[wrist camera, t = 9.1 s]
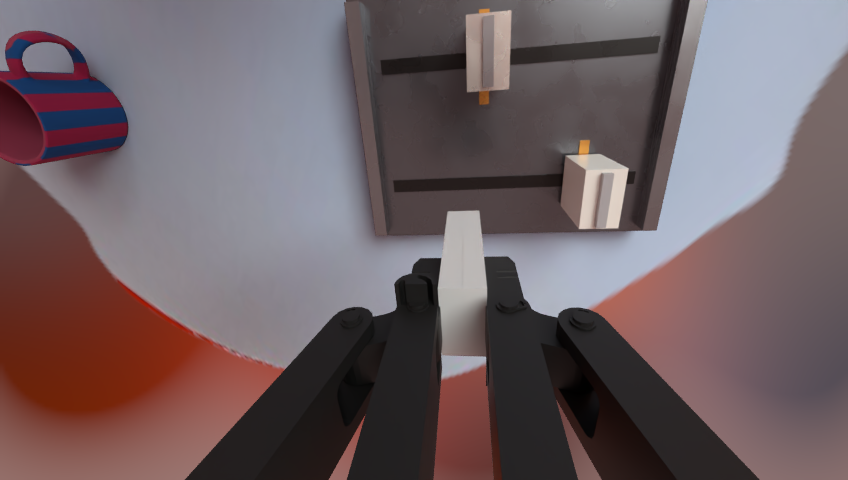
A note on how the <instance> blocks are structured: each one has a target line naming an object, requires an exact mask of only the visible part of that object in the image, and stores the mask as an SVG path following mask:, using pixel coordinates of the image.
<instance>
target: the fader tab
mask: <svg viewBox="0 0 848 480" xmlns="http://www.w3.org/2000/svg"><path fill="white" fill-rule="evenodd" d="M628 170H629V168H627V167H625V166H623V165H621V164H619V163H617V162H615V161H613V160H611V159H609V158H607V157H605V156H603V155H601V154H586V155H565V164H564V175H563V185H562V195H561V205H560V206H561V207H562V208H563V209H564V211H565V212H566V213H567V214H568V216H569V217H570V218H571V220H572V221H573V222H574V223H575V225H576V226H577V227H578V229H607V228H618V227H619V221H620V216H621V210H622V204H623V198H624V193H625V187H626V181H627V175H628Z"/></svg>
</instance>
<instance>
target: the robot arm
mask: <svg viewBox="0 0 848 480" xmlns="http://www.w3.org/2000/svg"><path fill="white" fill-rule="evenodd" d="M394 286H395V294H396V301H397V308H396V310H395V311H393V312H391V313H388V314H384V315H380V316H375V317H372V313H371V312H370V311H369V310H368V309H365V308H362V307H352V308H347V309H345V310H342V311H340V312H338V313H337V314H336V315H335V316H333V317H332V319H331V320H330V321H329V322H328V323H327V324H326V325H325V326H324V327H323V328H322V330H321V331H320V332H319V333H318V334H317V335H316V336H315V337H314V338H313V339H312V341H311V342H310V343H309V344H308V345H307V346H306V347H305V348H304V349H303V350H302V352H301V353H300V354H299V355H298V356H297V357H296V358H295V359H294V360H293V361H292V363H291V364H290V365H289V366H288V367H287V368H286V369H285V370H284V371H283V373H282V374H281V375H280V376H279V377H278V378H277V379H276V380H275V381H274V382H273V383H272V385H271V386H270V387H269V388H268V389H267V390H266V391H265V392H264V393H263V394H262V396H261V397H260V398H259V399H258V400H257V401H256V402H255V403H254V404H253V406H251V408H250V409H249V410H248V411H247V412H246V413H245V414H244V415H243V416H242V417H241V419H240V420H239V421H238V422H237V423H236V424H235V425H234V426H233V428H231V430H230V431H229V432H228V433H227V434H226V435H225V436H224V437H223V438H222V439H221V441H220V442H219V443H218V444H217V445H216V446H215V447H214V448H213V449H212V450H211V452H210V453H209V454H208V455H207V456H206V457H205V458H204V459H203V460H202V461H201V463H200V464H199V465H198V466H197V467H196V468H195V469H194V470H193V471H192V472H191V474H190V475H189V476H188V477H187V478H186V479H185V480H329V478H330V476H331V474H332V473H333V471H334V469H335V467H336V465H337V464H338V462H339V460H340V458H341V456H342V455H343V453H344V451H345V450H346V448H347V446H348V444H349V442H350V441H351V439H352V437H353V435H354V433H355V432H356V430H357V428H358V426H359V425H360V423H361V421H362V419H363V418H364V416H365V419H364V422H363V425H362V429H361V432H360V436H359V440H358V443H357V446H356V450H355V453H354V457H353V460H352V464H351V467H350V470H349V474H348V477H347V480H433V478H434V477H433V476H434V465H435V452H436V439H437V425H438V412H439V399H440V386H441V373H442V361H441V352H442V355H449V356H486V386H488V401H489V414H490V415H489V416H490V430H491V445H492V461H493V476H494V480H578V478H577V474H576V471H575V467H574V463H573V460H572V456H571V452H570V449H569V445H568V441H567V438H566V434H565V430H564V427H563V423H562V419H561V416H560V412H559V409H558V405H557V401H558V403H559V405H560V407H561V408H562V410H563V412H564V414H565V415H566V417H567V419H568V420H569V422H570V424H571V426H572V428H573V429H574V431H575V433H576V435H577V437H578V438H579V440H580V442H581V443H582V445H583V447H584V449H585V451H586V452H587V454H588V456H589V458H590V460H591V461H592V463H593V465H594V467H595V468H596V470H597V472H598V473H599V475H600V477H601V479H602V480H759V479H758V478H757V477H756V475H755V474H754V473H753V472H752V471H751V470H750V469H749V468H748V467H747V466H746V465H745V464H744V463H743V462H742V461H741V460H740V459H739V458H738V457H737V456H736V455H735V454H734V453H733V452H732V451H731V449H729V447H727V445H726V444H725V443H724V442H723V441H722V440H721V439H720V438H719V437H718V436H717V435H716V434H715V433H714V432H713V431H712V430H711V429H710V428H709V427H708V426H707V425H706V423H705V422H704V421H703V420H702V419H701V418H700V417H699V416H698V415H697V414H696V413H695V412H694V411H693V410H692V409H691V408H690V407H689V406H688V405H687V404H686V403H685V402H684V401H683V400H682V399H681V397H680V396H678V394H677V393H676V392H674V390H673V389H672V388H671V387H670V386H669V385H668V384H667V383H666V382H665V381H664V380H663V379H662V378H661V377H660V376H659V375H658V374H657V373H656V372H655V370H654V369H653V368H652V367H651V366H650V365H649V364H648V363H647V362H646V361H645V360H644V359H643V358H642V357H641V356H640V355H639V354H638V353H637V352H636V351H635V350H634V349H633V348H632V347H631V346H630V345H629V344H628V342H627V341H626V340H625V339H624V338H623V337H622V336H621V335H620V334H619V333H618V332H617V331H616V330H615V329H614V328H613V327H612V326H611V325H610V324H609V323H608V322H607V321H606V320H605V318H603V317H602V316H601V315H599V314H598V313H596V312H593V311H591V310H589V309H584V308H568V309H565V310H563V311H562V312H560V313H559V316H558V318H556V317H552V316H547V315H544V314H540V313H538V312H536V311H534V310H532V309H531V306H530V305H529V303H528V302H527V301H526V300H525V299H524V297H523V293H522V290H521V286H520V282H519V278H518V274H517V270H516V266H515V263H514V262H513V261H512V260H511V259H510V258H509V257H484V253H483V243H482V233H481V223H480V213H479V211H448V213H447V220H446V228H445V236H444V244H443V251H442V258H420V259H419V260H418V261H417V262H416V263H415V264H414V266H413V269H412V273H411V274H408V275H405V276H402V277H401V278H399V279H398V280H397V281H396V282H395V284H394ZM556 400H557V401H556ZM365 414H366V415H365Z"/></svg>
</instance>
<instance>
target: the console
mask: <svg viewBox="0 0 848 480" xmlns="http://www.w3.org/2000/svg"><path fill="white" fill-rule="evenodd" d="M707 1H708V0H346V2H344V6H345V13H346V20H347V28H348V35H349V42H350V50H351V57H352V64H353V72H354V79H355V86H356V94H357V101H358V108H359V116H360V123H361V130H362V138H363V145H364V152H365V160H366V167H367V174H368V182H369V189H370V196H371V204H372V211H373V218H374V226H375V233H376V236H386V235H431V234H445V228H446V220H447V213H448V211H479V213H480V223H481V233H482V234H484V233H537V232H589V231H642V230H643V231H650V230H657V226H658V221H659V217H660V212H661V208H662V203H663V199H664V194H665V190H666V185H667V181H668V176H669V172H670V167H671V163H672V158H673V154H674V149H675V145H676V141H677V136H678V132H679V127H680V123H681V118H682V114H683V109H684V105H685V100H686V96H687V91H688V87H689V82H690V78H691V73H692V69H693V64H694V60H695V55H696V51H697V46H698V42H699V37H700V33H701V28H702V24H703V19H704V15H705V10H706V6H707ZM586 154H601V155H603V156H605V157H607V158H609V159H611V160H613V161H615V162H617V163H619V164H621V165H623V166H625V167H627V168H629V170H628V175H627V181H626V187H625V193H624V198H623V204H622V210H621V216H620V221H619V227H618V228H607V229H578V227H577V226H576V225H575V223H574V222H573V221H572V220H571V218H570V217H569V216H568V214H567V213H566V212H565V211H564V209H563V208H562V207H561V206H560V205H561V195H562V185H563V175H564V164H565V155H586Z"/></svg>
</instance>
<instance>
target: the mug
mask: <svg viewBox="0 0 848 480" xmlns="http://www.w3.org/2000/svg"><path fill="white" fill-rule="evenodd" d="M40 42H52V43H58V44H61V45H63V46H64V47H65V48H66V49H67V51H68V52H69V54H70V56H71V57H72V60H73V64H74V73H54V72H27V71H26V70H25V68H24V66H23V62H22V56H23V52H24V51H25V49H26V48H27V47H29V46H30V45H32V44H35V43H40ZM5 56H6V61H7V65H8V67H9V70H10V71H0V157H1V158H2V159H4V160H6V161H8V162H11V163H13V164H17V165H23V166H30V165H36V164H42V163H47V162H52V161H58V160H63V159H69V158H74V157H79V156H85V155H90V154H96V153H101V152H107V151H112V150H115V149H117V148H119V147H120V146H121V145H122V144H123V143H124V141H125V139H126V136H127V132H128V124H127V118H126V115H125V112H124V110H123V107H122V105H121V104H120V102H119V100H118V99H117V97H116V96H115V95H114V94H113V92H112V91H111V90H110V89H109V88H108V87H106V86H105V85H104V84H103V83H102V82H100V81H98V80H97V79H95V78H93V77H91V76H90V73H89V69H88V66H87V63H86V60H85V59H84V57H83V55H82V54H81V52H80V51H79V50H78V49H77V48H76V47H75V46H74V45H73V44H71V43H70V42H69V41H67V40H65V39H63V38H61V37H59V36H57V35H54V34H51V33H47V32H42V31H25V32H20V33H18V34H15V35H14V36H12V37H11V38H10V39H9V40H8V42H7V44H6V49H5Z"/></svg>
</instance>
